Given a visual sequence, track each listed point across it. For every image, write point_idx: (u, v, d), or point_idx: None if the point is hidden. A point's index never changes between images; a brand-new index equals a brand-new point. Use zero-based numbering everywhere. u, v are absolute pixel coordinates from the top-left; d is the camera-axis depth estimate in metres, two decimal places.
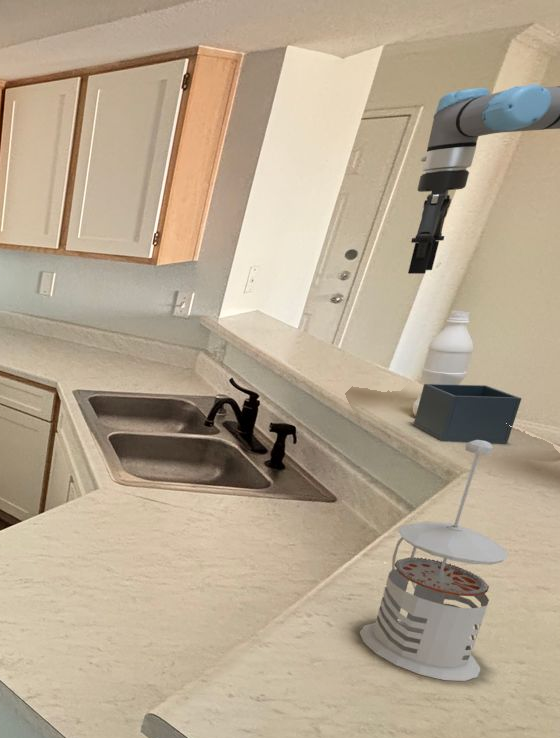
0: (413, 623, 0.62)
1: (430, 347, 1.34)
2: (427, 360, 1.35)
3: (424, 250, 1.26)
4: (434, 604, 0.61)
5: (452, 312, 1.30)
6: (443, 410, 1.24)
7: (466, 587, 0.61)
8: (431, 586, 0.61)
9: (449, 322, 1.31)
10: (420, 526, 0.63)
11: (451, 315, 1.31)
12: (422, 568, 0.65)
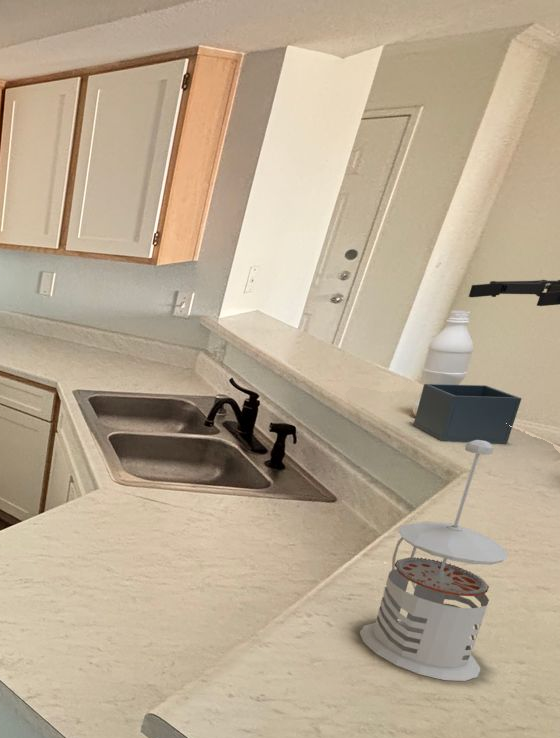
0: (413, 623, 0.62)
1: (430, 347, 1.34)
2: (427, 360, 1.35)
3: None
4: (434, 604, 0.61)
5: (452, 312, 1.30)
6: (443, 410, 1.24)
7: (466, 587, 0.61)
8: (431, 586, 0.61)
9: (449, 322, 1.31)
10: (420, 526, 0.63)
11: (451, 315, 1.31)
12: (422, 568, 0.65)
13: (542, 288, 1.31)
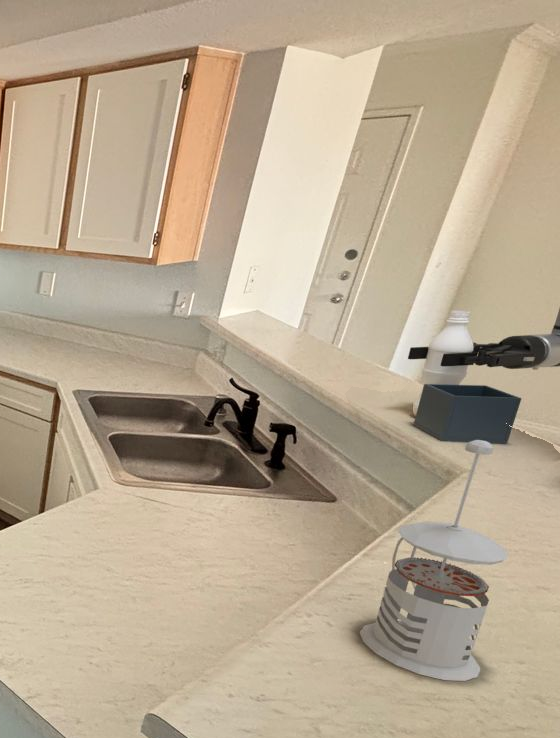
0: (413, 623, 0.62)
1: (430, 347, 1.34)
2: (427, 360, 1.35)
3: None
4: (434, 604, 0.61)
5: (452, 312, 1.30)
6: (443, 410, 1.24)
7: (466, 587, 0.61)
8: (431, 586, 0.61)
9: (449, 322, 1.31)
10: (420, 526, 0.63)
11: (451, 315, 1.31)
12: (422, 568, 0.65)
13: (477, 351, 1.35)
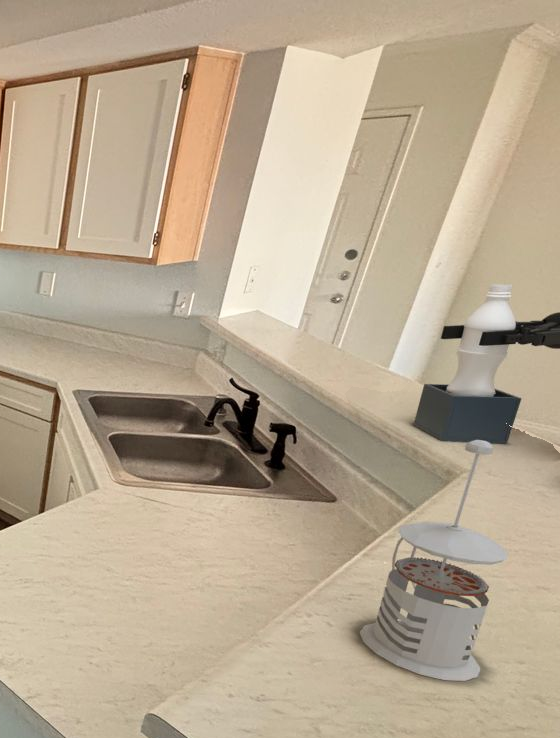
0: (413, 623, 0.62)
1: (466, 325, 1.21)
2: (463, 340, 1.22)
3: None
4: (434, 604, 0.61)
5: (492, 286, 1.18)
6: (443, 410, 1.24)
7: (466, 587, 0.61)
8: (431, 586, 0.61)
9: (488, 297, 1.18)
10: (420, 526, 0.63)
11: (491, 289, 1.18)
12: (422, 568, 0.65)
13: (518, 330, 1.22)
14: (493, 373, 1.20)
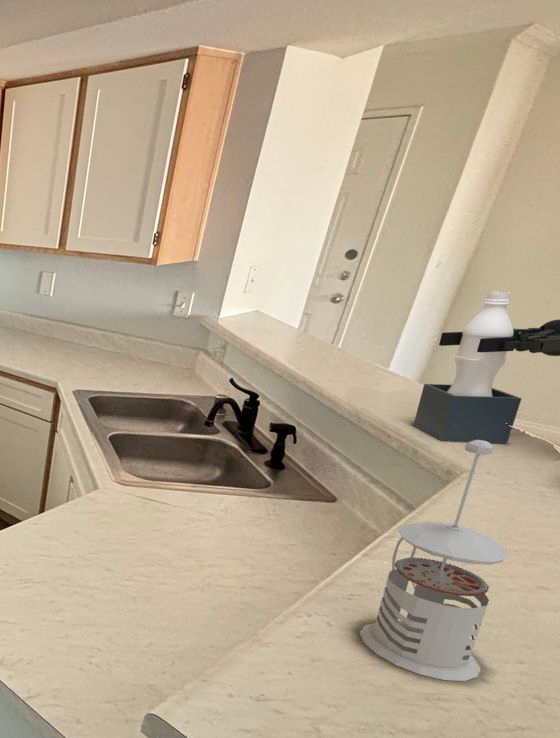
0: (413, 623, 0.62)
1: (465, 332, 1.22)
2: (461, 346, 1.23)
3: None
4: (434, 604, 0.61)
5: (490, 293, 1.18)
6: (443, 410, 1.24)
7: (466, 587, 0.61)
8: (431, 586, 0.61)
9: (486, 304, 1.19)
10: (420, 526, 0.63)
11: (489, 296, 1.18)
12: (422, 568, 0.65)
13: (516, 337, 1.22)
14: (491, 380, 1.20)
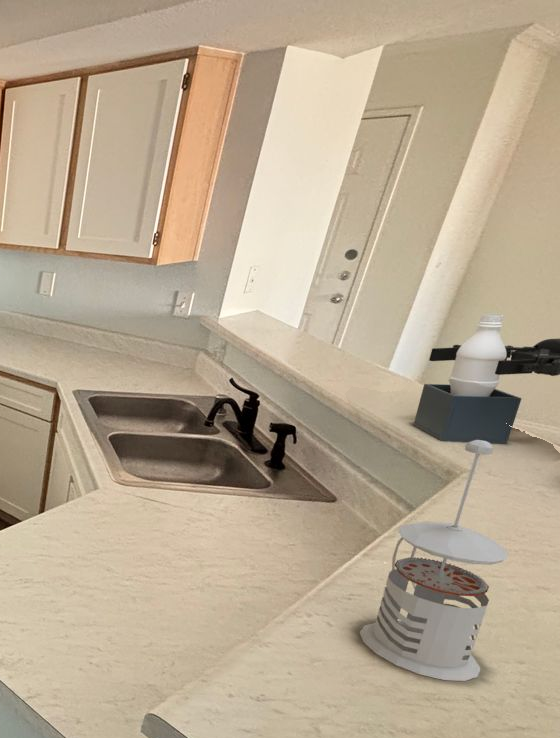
0: (413, 623, 0.62)
1: (458, 354, 1.23)
2: (455, 368, 1.24)
3: None
4: (434, 604, 0.61)
5: (483, 316, 1.20)
6: (443, 410, 1.24)
7: (466, 587, 0.61)
8: (431, 586, 0.61)
9: (480, 327, 1.20)
10: (420, 526, 0.63)
11: (482, 319, 1.20)
12: (422, 568, 0.65)
13: (506, 355, 1.25)
14: None
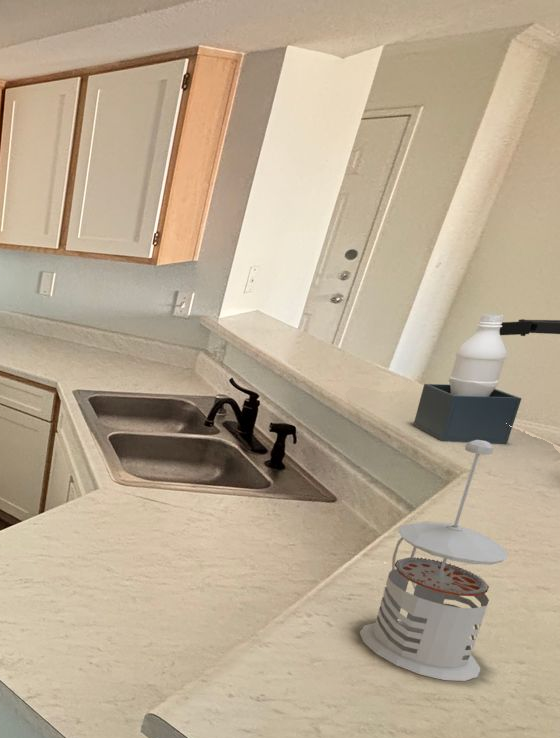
0: (413, 623, 0.62)
1: (458, 354, 1.23)
2: (455, 368, 1.24)
3: None
4: (434, 604, 0.61)
5: (483, 316, 1.20)
6: (443, 410, 1.24)
7: (466, 587, 0.61)
8: (431, 586, 0.61)
9: (480, 327, 1.20)
10: (420, 526, 0.63)
11: (482, 319, 1.20)
12: (422, 568, 0.65)
13: None
14: None
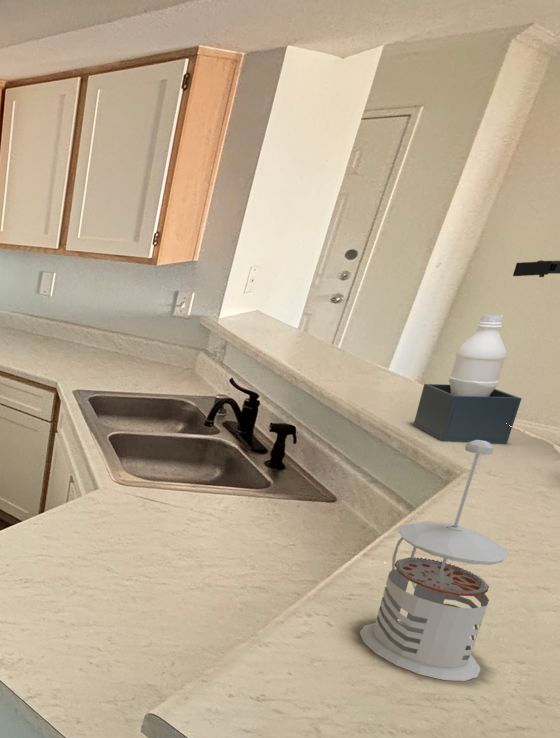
0: (413, 623, 0.62)
1: (458, 354, 1.23)
2: (455, 368, 1.24)
3: None
4: (434, 604, 0.61)
5: (483, 316, 1.20)
6: (443, 410, 1.24)
7: (466, 587, 0.61)
8: (431, 586, 0.61)
9: (480, 327, 1.20)
10: (420, 526, 0.63)
11: (482, 319, 1.20)
12: (422, 568, 0.65)
13: None
14: None
